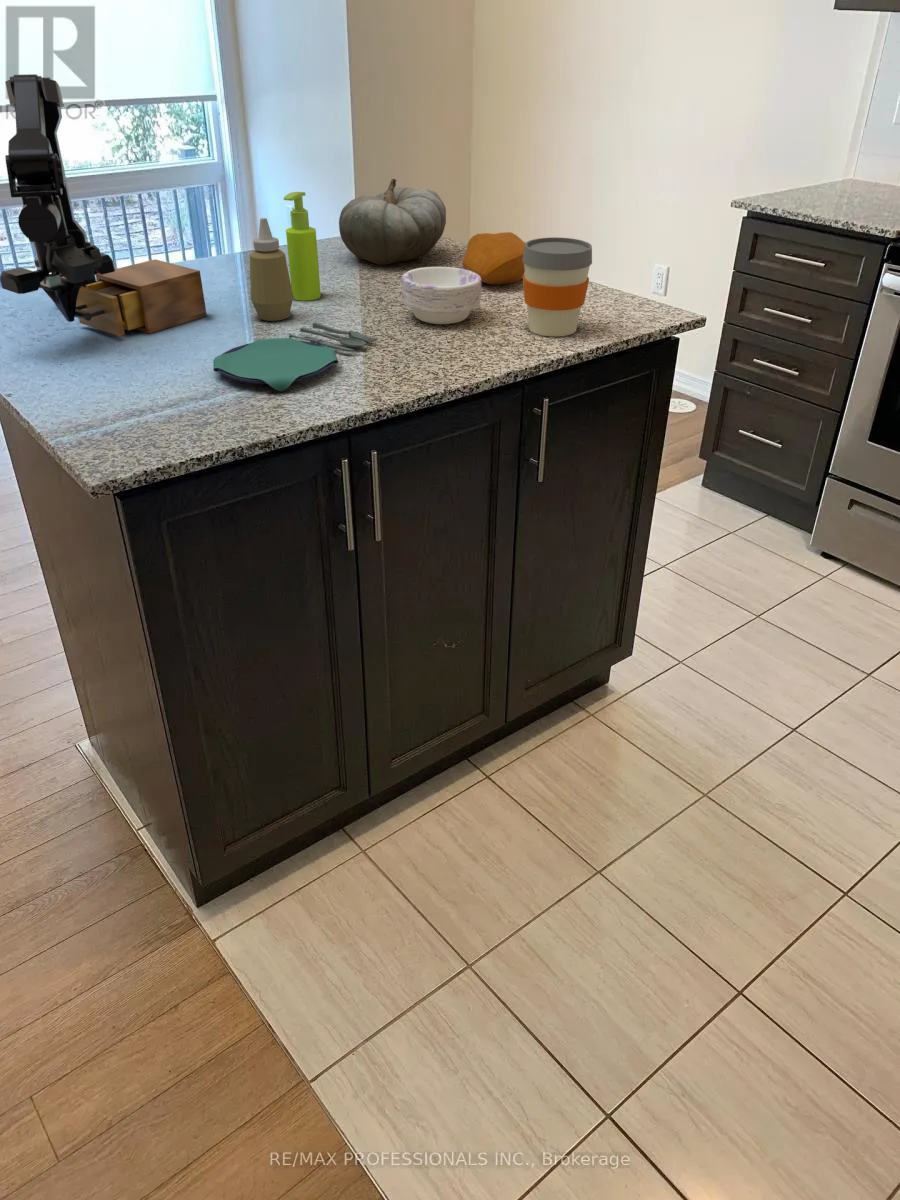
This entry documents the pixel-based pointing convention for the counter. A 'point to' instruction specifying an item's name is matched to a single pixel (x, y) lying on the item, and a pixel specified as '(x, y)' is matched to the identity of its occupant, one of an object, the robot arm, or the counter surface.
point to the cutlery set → (285, 357)
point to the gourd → (393, 224)
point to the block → (117, 293)
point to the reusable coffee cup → (555, 283)
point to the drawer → (108, 309)
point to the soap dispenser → (302, 252)
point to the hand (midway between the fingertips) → (70, 321)
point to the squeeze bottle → (269, 277)
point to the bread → (495, 257)
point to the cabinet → (162, 292)
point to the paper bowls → (441, 293)
